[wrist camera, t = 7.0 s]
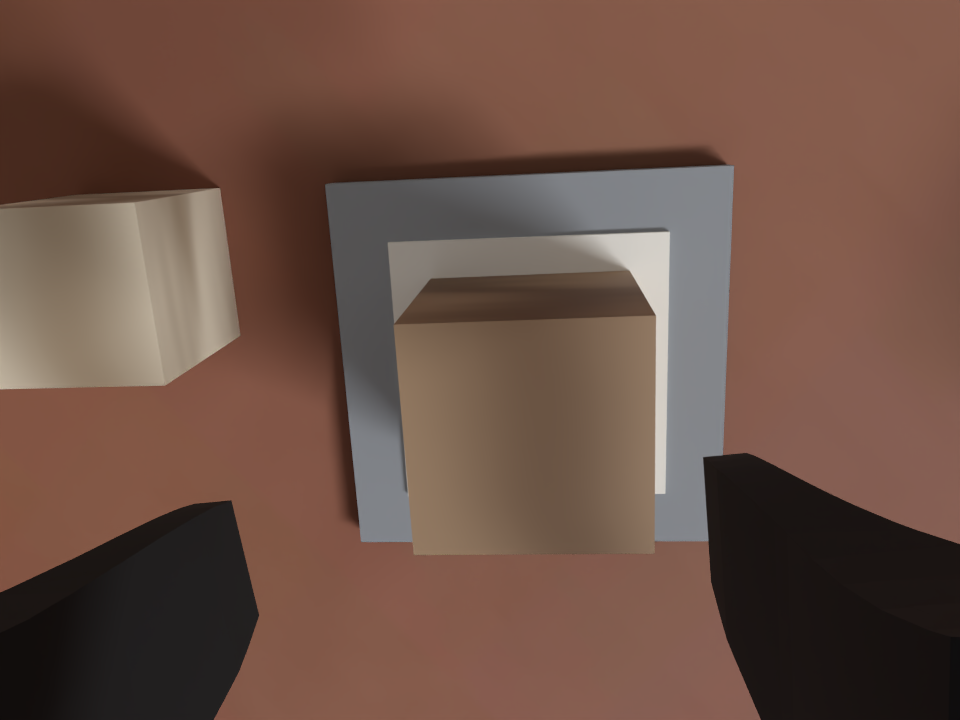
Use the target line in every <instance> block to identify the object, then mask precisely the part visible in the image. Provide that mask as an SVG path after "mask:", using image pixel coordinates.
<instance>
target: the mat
mask: <svg viewBox="0 0 960 720" xmlns="http://www.w3.org/2000/svg"><path fill="white" fill-rule="evenodd" d="M733 177H734V165H708V166H686V167H665V168H643V169H622V170H600V171H579V172H557V173H535V174H514V175H492V176H471V177H449V178H428V179H406V180H384V181H363V182H341V183H329V184H325V189H326V199H327V208H328V218H329V228H330V238H331V248H332V258H333V268H334V278H335V288H336V298H337V307H338V317H339V327H340V337H341V347H342V357H343V367H344V377H345V387H346V396H347V406H348V416H349V426H350V436H351V446H352V456H353V466H354V476H355V485H356V495H357V505H358V515H359V525H360V535H361V542H413V540H412V529H411V518H410V506H409V495H408V483H407V472H406V461H405V449H404V438H403V427H402V415H401V404H400V392H399V381H398V370H397V358H396V347H395V335H394V323H395V322H396V321H397V320H398V319H399V317H400V316H401V315H402V314H403V312H404V311H405V310H406V309H407V307H408V306H409V305H410V304H411V302H412V301H413V300H414V299H415V297H416V296H417V295H418V294H419V292H420V291H421V290H422V289H423V287H424V286H425V285H426V284H427V282H428V281H429V280H430V279H432V278H457V277H482V276H507V275H532V274H556V273H581V272H606V271H630V272H631V274H632V275H633V277H634V279H635V280H636V282H637V284H638V286H639V287H640V289H641V291H642V292H643V294H644V296H645V298H646V299H647V301H648V303H649V304H650V306H651V308H652V309H653V311H654V313H655V315H656V401H655V541H708V526H707V510H706V495H705V480H704V465H703V457H709V456H720V455H723V437H724V411H725V385H726V359H727V333H728V307H729V281H730V255H731V229H732V203H733Z"/></svg>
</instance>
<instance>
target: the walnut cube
mask: <svg viewBox="0 0 960 720" xmlns="http://www.w3.org/2000/svg"><path fill="white" fill-rule="evenodd" d="M394 335H395V347H396V358H397V370H398V381H399V392H400V404H401V415H402V427H403V438H404V449H405V461H406V472H407V483H408V495H409V506H410V518H411V529H412V540H413V552H414V555H503V554H655V401H656V315H655V313H654V311H653V309H652V308H651V306H650V304H649V303H648V301H647V299H646V298H645V296H644V294H643V292H642V291H641V289H640V287H639V286H638V284H637V282H636V280H635V279H634V277H633V275H632V274H631V272H630V271H606V272H581V273H556V274H532V275H507V276H482V277H457V278H432V279H430V280H429V281H428V282H427V284H426V285H425V286H424V287H423V289H422V290H421V291H420V292H419V294H418V295H417V296H416V297H415V299H414V300H413V301H412V302H411V304H410V305H409V306H408V307H407V309H406V310H405V311H404V312H403V314H402V315H401V316H400V317H399V319H398V320H397V321H396V322H395V323H394Z"/></svg>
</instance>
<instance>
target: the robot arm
mask: <svg viewBox="0 0 960 720" xmlns="http://www.w3.org/2000/svg"><path fill="white" fill-rule="evenodd" d="M703 465H704V480H705V495H706V510H707V526H708V541H709V556H710V571H711V583H712V587H713V590H714V594H715V598H716V602H717V605H718V609H719V613H720V617H721V620H722V624H723V627H724V631H725V634H726V638H727V641H728V643H729V646H730V648H731V650H732V653H733V655H734V658H735V660H736V662H737V665H738V667H739V669H740V672H741V674H742V676H743V679H744V681H745V683H746V686H747V688H748V690H749V693H750V695H751V697H752V700H753V702H754V704H755V707H756V709H757V711H758V714H759V716H760V718H761V720H960V544H957V543H954V542H951V541H948V540H945V539H942V538H939V537H936V536H933V535H930V534H927V533H924V532H920V531H917V530H914V529H912V528H909V527H906V526H904V525H901V524H898V523H896V522H893V521H891V520H888V519H886V518H883V517H881V516H879V515H876V514H874V513H872V512H869V511H867V510H864V509H862V508H860V507H857V506H855V505H853V504H851V503H848V502H846V501H844V500H842V499H840V498H838V497H835V496H833V495H831V494H829V493H827V492H825V491H823V490H821V489H819V488H817V487H815V486H813V485H811V484H809V483H807V482H805V481H803V480H801V479H799V478H797V477H795V476H794V475H792V474H790V473H788V472H786V471H784V470H782V469H780V468H778V467H776V466H774V465H772V464H770V463H768V462H766V461H764V460H762V459H760V458H758V457H756V456H753V455H751V454H748V453H742V454H731V455H720V456H709V457H703ZM258 617H259V613H258V609H257V605H256V601H255V597H254V593H253V589H252V584H251V580H250V576H249V572H248V568H247V564H246V560H245V555H244V551H243V547H242V543H241V539H240V535H239V531H238V527H237V522H236V518H235V514H234V510H233V506H232V502H231V501H221V502H210V503H199V504H193V505H189V506H186V507H182V508H180V509H177V510H174V511H172V512H169V513H167V514H165V515H162V516H160V517H158V518H156V519H153V520H151V521H149V522H147V523H145V524H143V525H141V526H139V527H137V528H134V529H132V530H130V531H128V532H126V533H124V534H122V535H120V536H118V537H116V538H114V539H112V540H110V541H108V542H106V543H104V544H102V545H100V546H98V547H96V548H94V549H92V550H90V551H88V552H86V553H84V554H82V555H80V556H78V557H76V558H74V559H72V560H70V561H67V562H65V563H63V564H61V565H59V566H57V567H55V568H52V569H50V570H48V571H46V572H44V573H42V574H40V575H38V576H35V577H33V578H31V579H29V580H27V581H25V582H23V583H20V584H18V585H16V586H14V587H12V588H10V589H7V590H5V591H3V592H1V593H0V720H214V718H215V716H216V714H217V712H218V710H219V708H220V707H221V705H222V703H223V701H224V699H225V697H226V695H227V693H228V692H229V690H230V688H231V686H232V684H233V682H234V680H235V678H236V676H237V674H238V672H239V670H240V667H241V665H242V662H243V659H244V657H245V654H246V652H247V649H248V646H249V644H250V641H251V638H252V635H253V632H254V629H255V626H256V623H257V620H258Z"/></svg>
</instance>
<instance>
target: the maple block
mask: <svg viewBox="0 0 960 720" xmlns="http://www.w3.org/2000/svg"><path fill="white" fill-rule="evenodd" d="M239 336H240V329H239V322H238V314H237V307H236V300H235V293H234V285H233V278H232V271H231V264H230V256H229V249H228V242H227V235H226V228H225V220H224V213H223V206H222V199H221V191H220V188H209V189H187V190H166V191H145V192H124V193H103V194H82V195H70V196H63V197H55V198H48V199H40V200H33V201H25V202H18V203H10V204H3V205H0V389H29V388H72V387H116V386H160V385H167V384H168V383H170V382H171V381H173V380H174V379H176V378H177V377H179V376H180V375H182V374H183V373H185V372H186V371H188V370H189V369H191V368H192V367H194V366H195V365H197V364H198V363H200V362H201V361H203V360H204V359H206V358H207V357H209V356H210V355H212V354H213V353H215V352H217V351H218V350H220V349H221V348H223V347H224V346H226V345H227V344H229V343H230V342H232V341H233V340H235V339H236V338H238V337H239Z"/></svg>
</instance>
